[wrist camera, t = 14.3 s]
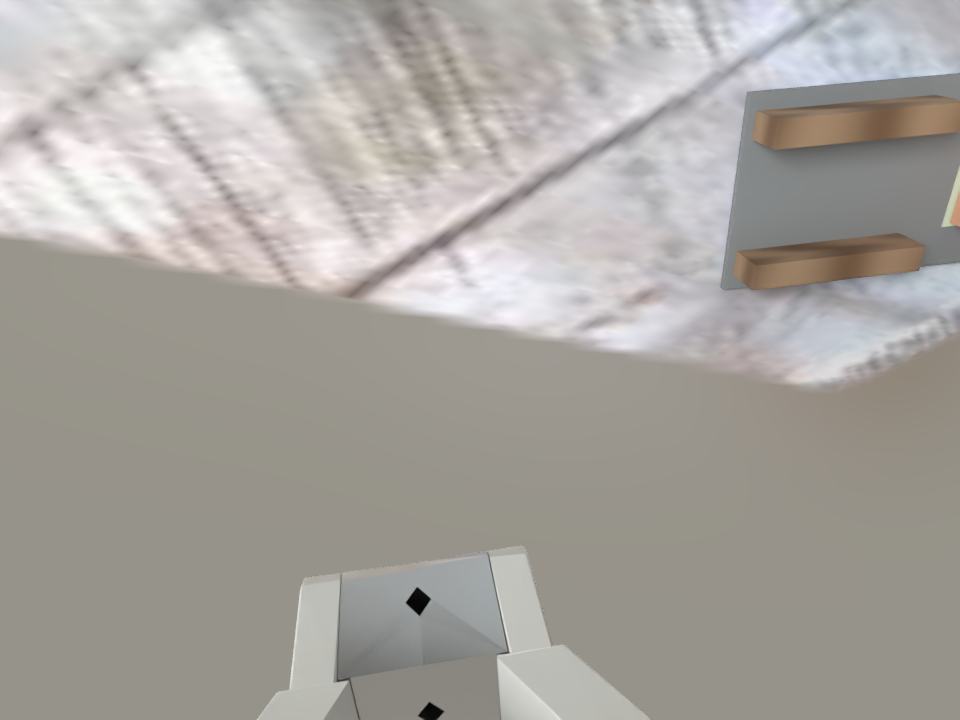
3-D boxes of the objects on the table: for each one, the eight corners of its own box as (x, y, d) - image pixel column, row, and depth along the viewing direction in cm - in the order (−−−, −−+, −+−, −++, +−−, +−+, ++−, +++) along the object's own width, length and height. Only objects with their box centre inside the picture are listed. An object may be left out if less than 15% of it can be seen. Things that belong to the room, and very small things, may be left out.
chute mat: (720, 287, 44) (724, 290, 43) (747, 91, 38) (751, 93, 37) (1006, 253, 46) (1012, 256, 45) (1074, 63, 40) (1082, 64, 39)
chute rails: (733, 274, 43) (752, 290, 41) (756, 111, 38) (779, 119, 36) (891, 256, 44) (918, 270, 42) (935, 94, 39) (968, 101, 37)
